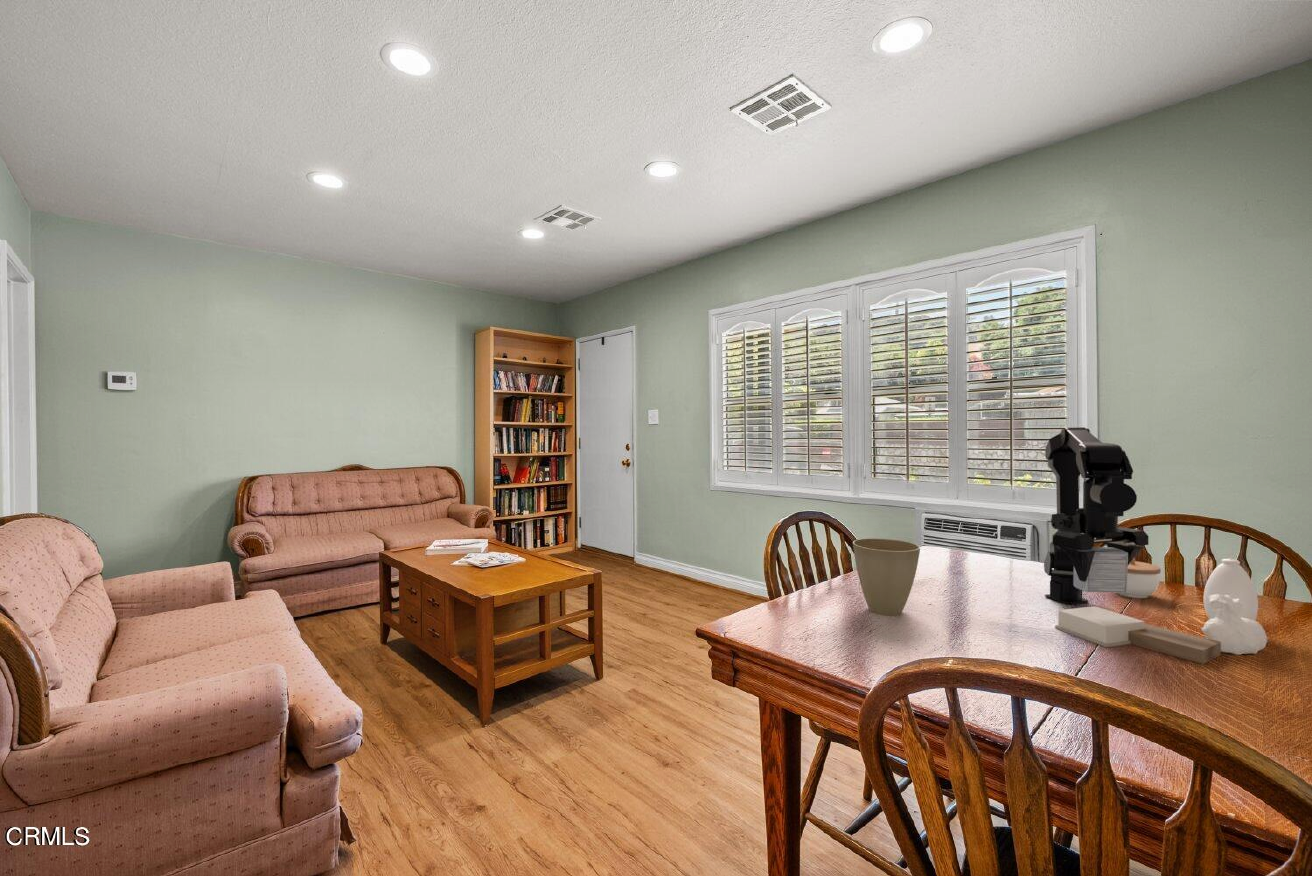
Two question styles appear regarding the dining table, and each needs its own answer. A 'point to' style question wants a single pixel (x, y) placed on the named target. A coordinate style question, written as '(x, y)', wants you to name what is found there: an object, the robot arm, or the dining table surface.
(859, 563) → the plant pot
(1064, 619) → the block
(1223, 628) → the duck figurine
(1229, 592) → the sauce bottle
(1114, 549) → the medicine box
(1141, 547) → the robot arm
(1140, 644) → the grey-brown long grooved block
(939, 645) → the dining table surface
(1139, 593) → the lidded jar
